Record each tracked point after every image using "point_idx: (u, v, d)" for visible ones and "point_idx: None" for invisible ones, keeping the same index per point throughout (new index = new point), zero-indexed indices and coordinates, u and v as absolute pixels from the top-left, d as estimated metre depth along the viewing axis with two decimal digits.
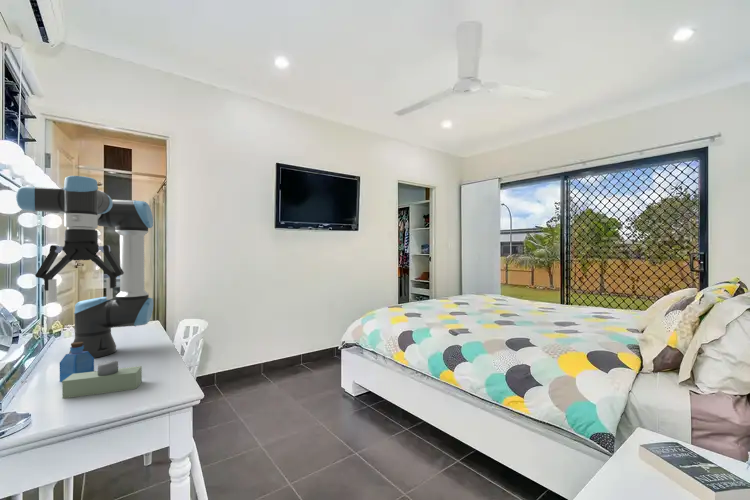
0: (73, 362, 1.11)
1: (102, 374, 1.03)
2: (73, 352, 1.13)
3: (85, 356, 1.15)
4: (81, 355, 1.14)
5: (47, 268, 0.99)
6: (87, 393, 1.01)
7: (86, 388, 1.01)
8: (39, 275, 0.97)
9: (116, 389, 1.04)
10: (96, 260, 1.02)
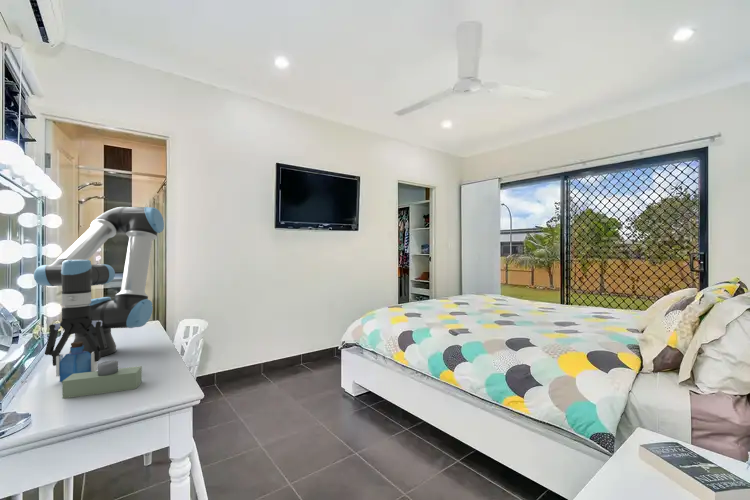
0: (73, 362, 1.11)
1: (102, 374, 1.03)
2: (73, 352, 1.13)
3: (85, 356, 1.15)
4: (81, 355, 1.14)
5: (53, 345, 1.12)
6: (87, 393, 1.01)
7: (86, 388, 1.01)
8: (48, 352, 1.11)
9: (116, 389, 1.04)
10: (87, 335, 1.15)
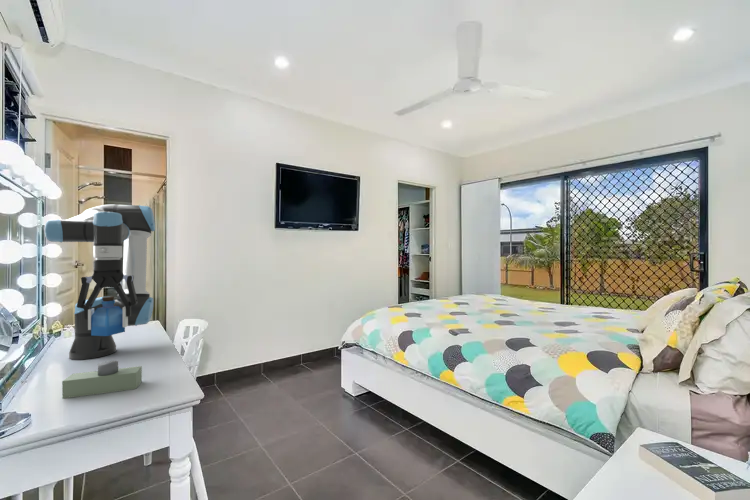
0: (105, 315, 1.09)
1: (102, 374, 1.03)
2: (105, 306, 1.11)
3: (116, 310, 1.13)
4: (113, 309, 1.12)
5: (84, 298, 1.10)
6: (87, 393, 1.01)
7: (86, 388, 1.01)
8: (80, 305, 1.09)
9: (116, 389, 1.04)
10: (118, 289, 1.13)
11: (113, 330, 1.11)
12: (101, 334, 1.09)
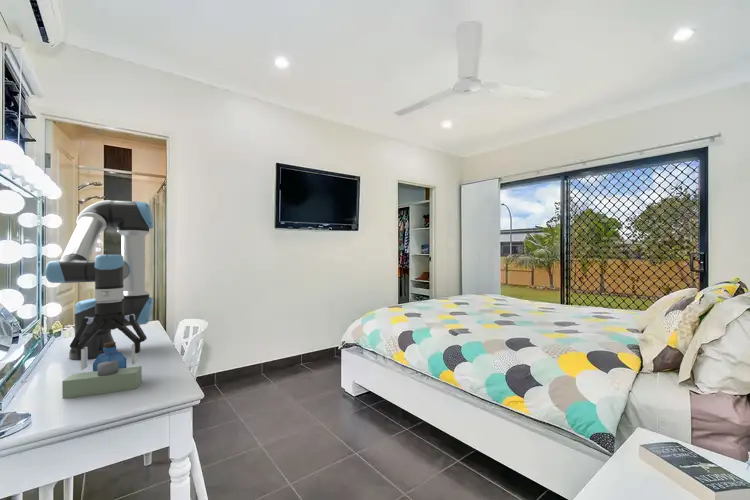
0: None
1: (102, 374, 1.03)
2: (106, 352, 1.11)
3: (118, 356, 1.13)
4: (115, 355, 1.12)
5: (80, 338, 1.10)
6: (87, 393, 1.01)
7: (86, 388, 1.01)
8: (73, 345, 1.08)
9: (116, 389, 1.04)
10: (123, 329, 1.13)
11: None
12: None
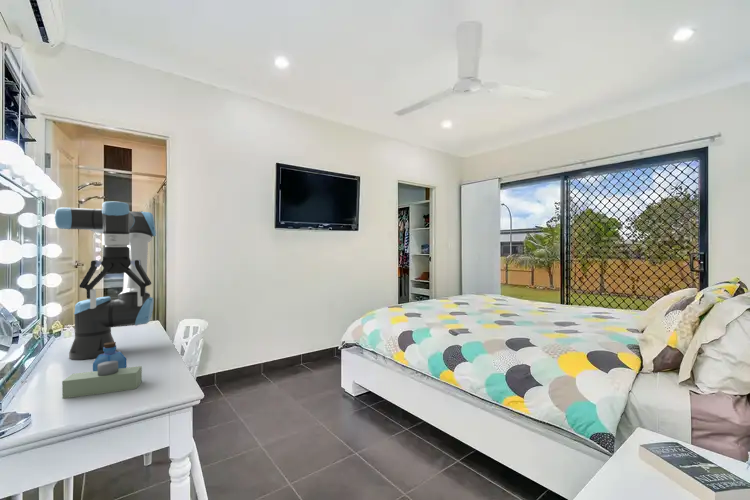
0: None
1: (102, 374, 1.03)
2: (106, 352, 1.11)
3: (118, 356, 1.13)
4: (115, 355, 1.12)
5: (88, 280, 1.17)
6: (87, 393, 1.01)
7: (86, 388, 1.01)
8: (82, 286, 1.15)
9: (116, 389, 1.04)
10: (129, 273, 1.20)
11: None
12: None
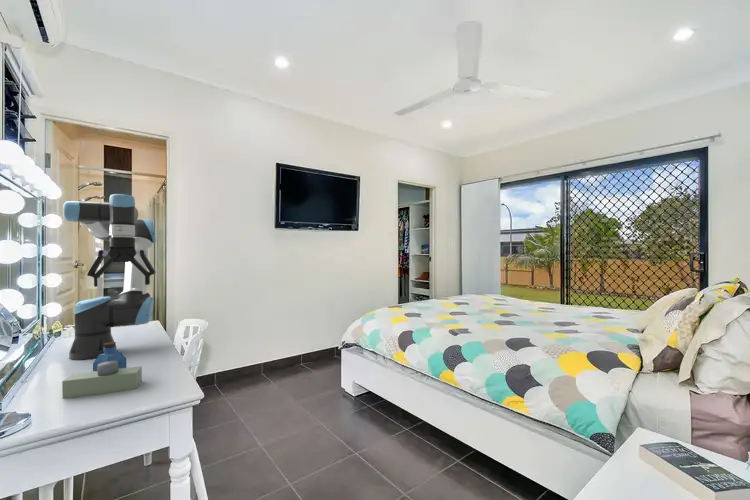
0: None
1: (102, 374, 1.03)
2: (106, 352, 1.11)
3: (118, 356, 1.13)
4: (115, 355, 1.12)
5: (96, 268, 1.22)
6: (87, 393, 1.01)
7: (86, 388, 1.01)
8: (90, 274, 1.21)
9: (116, 389, 1.04)
10: (134, 262, 1.26)
11: None
12: None
